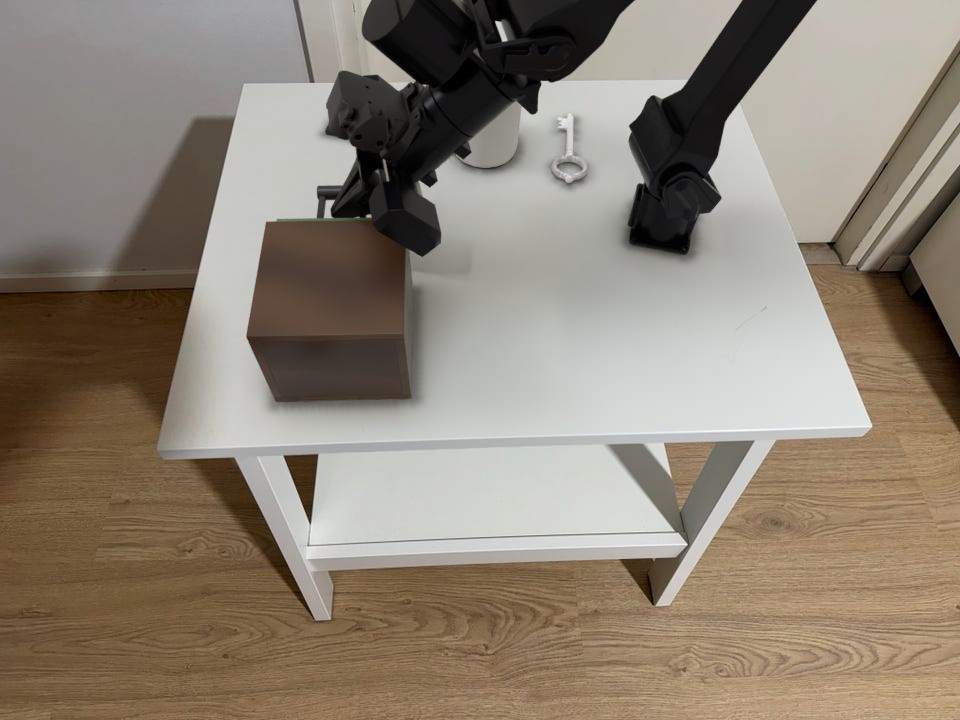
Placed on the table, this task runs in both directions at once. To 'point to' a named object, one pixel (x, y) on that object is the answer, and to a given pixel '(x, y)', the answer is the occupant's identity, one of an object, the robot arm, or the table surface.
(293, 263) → the cabinet
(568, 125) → the key
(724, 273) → the table surface
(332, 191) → the drawer
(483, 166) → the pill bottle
